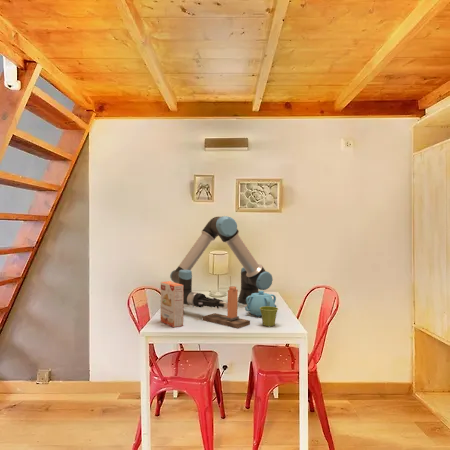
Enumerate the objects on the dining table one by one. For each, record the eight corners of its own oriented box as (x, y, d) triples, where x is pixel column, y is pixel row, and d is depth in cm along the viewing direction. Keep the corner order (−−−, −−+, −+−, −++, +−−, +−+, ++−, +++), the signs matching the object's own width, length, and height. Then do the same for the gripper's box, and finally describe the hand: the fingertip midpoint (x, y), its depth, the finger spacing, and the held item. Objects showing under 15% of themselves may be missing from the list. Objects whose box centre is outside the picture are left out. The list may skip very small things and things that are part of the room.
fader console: (250, 324, 194) (250, 320, 194) (238, 328, 186) (238, 324, 186) (214, 316, 209) (215, 312, 209) (202, 320, 202) (202, 316, 202)
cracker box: (159, 321, 197) (160, 281, 197) (169, 320, 201) (170, 280, 201) (173, 327, 186) (173, 285, 186) (183, 326, 190) (184, 284, 190)
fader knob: (239, 318, 196) (239, 286, 196) (231, 320, 192) (232, 288, 191) (232, 317, 199) (233, 285, 199) (225, 319, 194) (226, 287, 194)
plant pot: (258, 322, 198) (258, 306, 198) (275, 322, 198) (275, 306, 198) (261, 327, 188) (261, 310, 188) (279, 327, 189) (280, 310, 189)
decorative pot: (241, 315, 213) (241, 291, 213) (254, 310, 227) (254, 287, 227) (268, 319, 205) (268, 294, 205) (279, 313, 218) (279, 290, 218)
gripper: (205, 304, 216) (237, 311, 201) (188, 308, 206) (221, 315, 191) (205, 291, 216) (237, 297, 201) (188, 294, 206) (221, 300, 191)
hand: (229, 306), depth 196 cm, fingers closed
